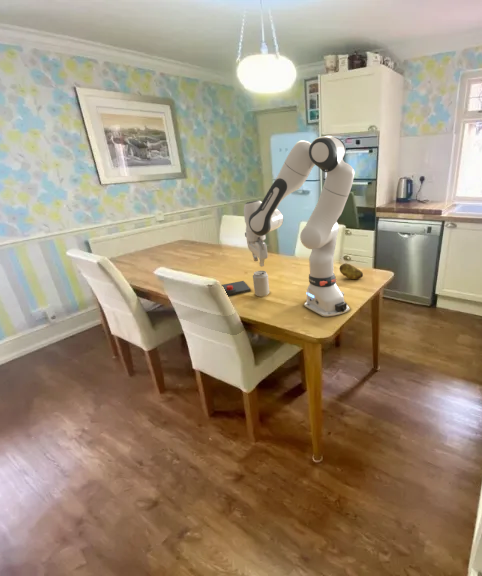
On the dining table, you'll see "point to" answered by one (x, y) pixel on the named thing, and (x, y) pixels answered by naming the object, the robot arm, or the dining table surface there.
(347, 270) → the potato
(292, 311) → the dining table surface
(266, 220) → the robot arm
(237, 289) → the scale
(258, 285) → the can
